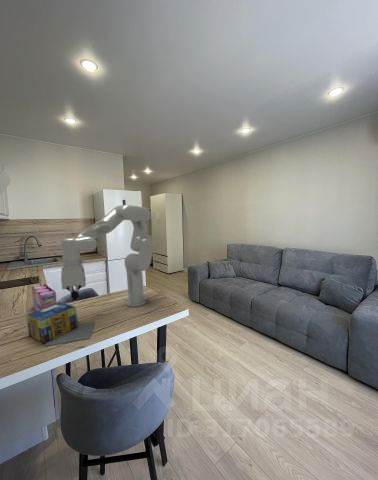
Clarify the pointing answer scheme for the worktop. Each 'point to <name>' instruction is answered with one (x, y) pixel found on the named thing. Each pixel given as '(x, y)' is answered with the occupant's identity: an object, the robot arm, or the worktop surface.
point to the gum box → (43, 297)
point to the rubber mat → (74, 334)
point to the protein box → (52, 321)
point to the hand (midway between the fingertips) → (75, 298)
